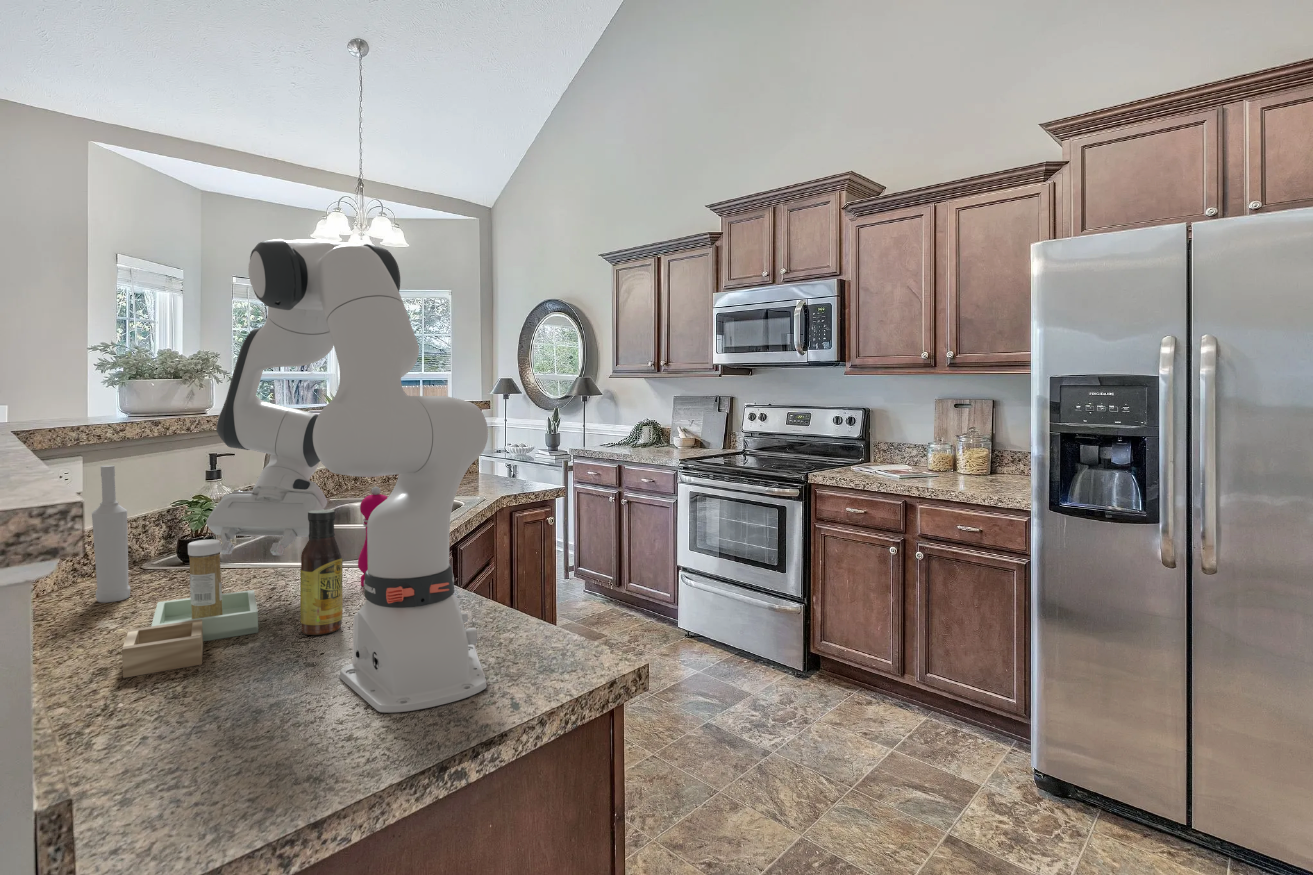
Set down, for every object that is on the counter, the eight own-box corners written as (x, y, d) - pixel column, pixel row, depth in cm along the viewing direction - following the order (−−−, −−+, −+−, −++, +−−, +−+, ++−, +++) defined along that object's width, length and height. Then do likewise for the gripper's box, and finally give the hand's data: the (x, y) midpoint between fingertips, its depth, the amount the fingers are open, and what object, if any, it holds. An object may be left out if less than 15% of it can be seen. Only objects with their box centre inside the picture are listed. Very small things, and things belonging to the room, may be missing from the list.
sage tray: (258, 632, 111) (257, 611, 111) (151, 649, 104) (151, 626, 103) (254, 608, 123) (253, 589, 123) (158, 622, 115) (157, 602, 115)
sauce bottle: (325, 638, 109) (323, 515, 107) (291, 635, 110) (288, 513, 109) (352, 625, 115) (349, 508, 114) (319, 622, 117) (316, 507, 115)
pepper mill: (402, 578, 143) (400, 484, 142) (387, 588, 136) (385, 489, 135) (368, 578, 144) (366, 483, 142) (351, 588, 136) (349, 488, 135)
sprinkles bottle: (229, 616, 116) (226, 538, 115) (211, 626, 111) (209, 544, 110) (202, 616, 116) (199, 538, 115) (183, 625, 111) (180, 544, 110)
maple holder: (201, 664, 98) (201, 637, 98) (123, 677, 93) (121, 649, 93) (203, 644, 106) (202, 619, 106) (130, 655, 101) (129, 629, 101)
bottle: (137, 594, 131) (132, 464, 129) (117, 602, 125) (111, 467, 124) (109, 594, 130) (104, 464, 129) (88, 602, 125) (81, 467, 123)
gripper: (219, 481, 132) (184, 542, 123) (324, 483, 131) (297, 545, 122) (234, 500, 136) (202, 560, 127) (335, 502, 136) (311, 563, 127)
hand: (249, 553), depth 125 cm, fingers open, 8 cm apart
